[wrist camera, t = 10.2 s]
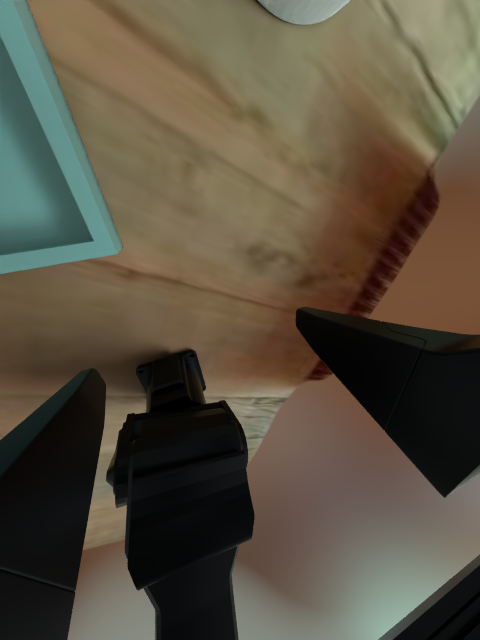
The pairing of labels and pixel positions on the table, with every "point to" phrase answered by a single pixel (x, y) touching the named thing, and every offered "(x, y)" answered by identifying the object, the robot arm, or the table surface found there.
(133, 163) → the table surface
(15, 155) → the tray
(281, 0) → the utensil holder
